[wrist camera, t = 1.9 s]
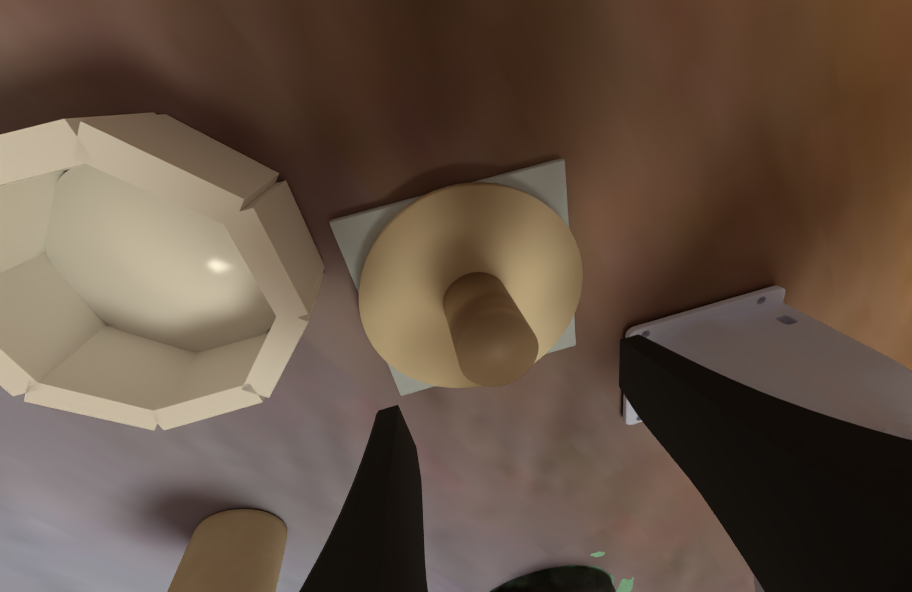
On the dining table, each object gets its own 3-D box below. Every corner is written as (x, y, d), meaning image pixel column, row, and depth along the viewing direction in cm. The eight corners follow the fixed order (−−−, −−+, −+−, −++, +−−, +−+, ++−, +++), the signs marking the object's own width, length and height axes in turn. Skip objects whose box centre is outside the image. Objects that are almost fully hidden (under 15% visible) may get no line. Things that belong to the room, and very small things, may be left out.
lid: (569, 153, 15) (639, 175, 11) (579, 346, 20) (629, 411, 16) (322, 219, 14) (297, 268, 10) (398, 399, 20) (401, 479, 16)
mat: (560, 158, 15) (564, 159, 15) (572, 340, 20) (575, 345, 20) (330, 219, 15) (329, 222, 15) (400, 390, 20) (401, 395, 20)
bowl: (244, 89, 12) (190, 87, 9) (350, 323, 17) (341, 379, 14) (-54, 164, 12) (-231, 191, 9) (143, 381, 17) (81, 454, 14)
